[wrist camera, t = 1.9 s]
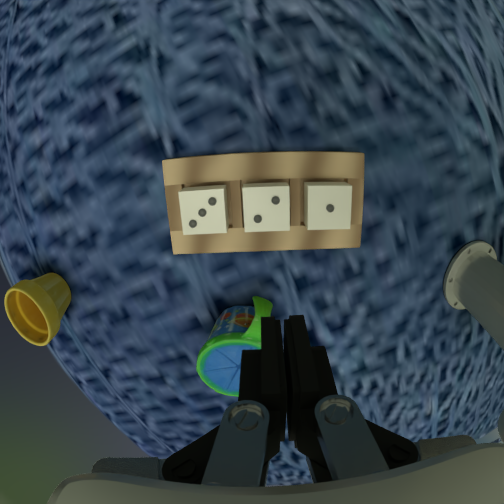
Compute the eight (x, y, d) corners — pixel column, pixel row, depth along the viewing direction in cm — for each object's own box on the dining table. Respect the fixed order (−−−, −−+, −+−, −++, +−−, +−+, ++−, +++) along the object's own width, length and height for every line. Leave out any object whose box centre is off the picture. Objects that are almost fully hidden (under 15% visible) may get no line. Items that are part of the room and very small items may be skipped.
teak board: (358, 152, 34) (364, 153, 32) (355, 241, 38) (359, 247, 37) (167, 159, 35) (162, 160, 33) (177, 248, 39) (173, 254, 37)
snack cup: (248, 368, 47) (246, 415, 38) (190, 343, 45) (177, 389, 36) (300, 300, 42) (310, 345, 32) (235, 267, 40) (228, 308, 31)
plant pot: (28, 264, 41) (-5, 290, 32) (67, 258, 40) (32, 287, 31) (48, 314, 45) (21, 344, 36) (88, 314, 44) (61, 348, 35)
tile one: (345, 181, 33) (352, 186, 30) (343, 222, 35) (350, 229, 32) (304, 181, 33) (308, 186, 31) (304, 223, 35) (307, 230, 32)
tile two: (286, 182, 33) (289, 186, 31) (287, 223, 35) (290, 231, 33) (243, 183, 34) (242, 187, 31) (245, 225, 35) (244, 232, 33)
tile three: (226, 184, 34) (223, 188, 31) (228, 225, 35) (226, 233, 33) (184, 187, 34) (177, 192, 31) (188, 227, 36) (182, 235, 33)
